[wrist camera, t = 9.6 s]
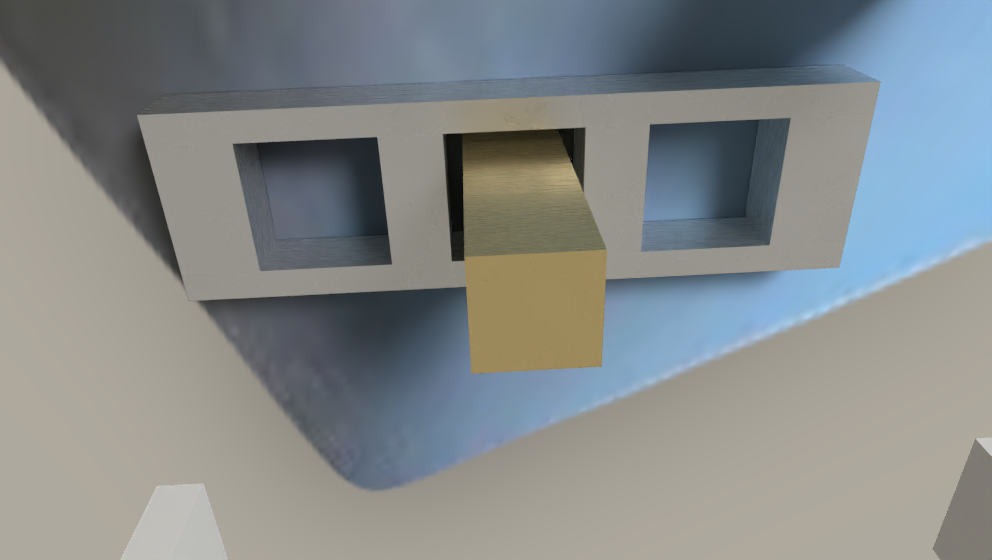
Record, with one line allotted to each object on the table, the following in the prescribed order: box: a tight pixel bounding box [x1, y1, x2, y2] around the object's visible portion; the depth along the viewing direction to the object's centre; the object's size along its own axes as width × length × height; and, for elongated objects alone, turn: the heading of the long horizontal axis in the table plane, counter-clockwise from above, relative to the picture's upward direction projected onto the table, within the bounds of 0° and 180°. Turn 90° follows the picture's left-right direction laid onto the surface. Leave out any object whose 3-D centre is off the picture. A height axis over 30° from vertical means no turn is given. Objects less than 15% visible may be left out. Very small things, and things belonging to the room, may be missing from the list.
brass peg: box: [462, 129, 607, 374], centre depth 26 cm, size 4×4×12 cm
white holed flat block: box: [137, 65, 880, 301], centre depth 30 cm, size 8×28×3 cm, turn 92°
